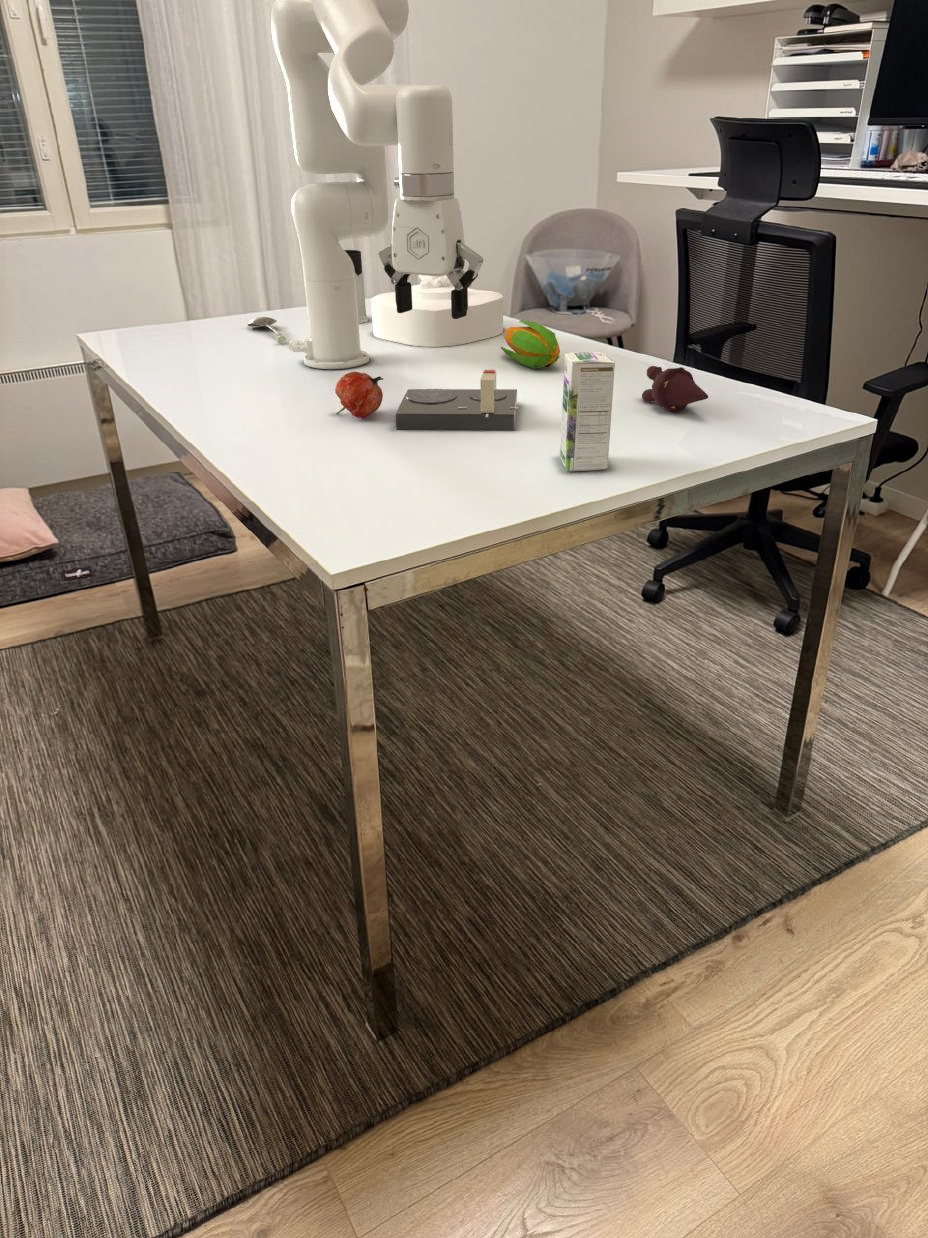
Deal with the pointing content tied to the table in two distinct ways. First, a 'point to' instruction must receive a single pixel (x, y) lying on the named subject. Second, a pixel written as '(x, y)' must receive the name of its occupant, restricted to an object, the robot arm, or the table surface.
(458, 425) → the hob
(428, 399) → the hotplates
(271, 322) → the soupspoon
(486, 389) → the hob knob
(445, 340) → the white cake
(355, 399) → the pomegranate
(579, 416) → the syrup box
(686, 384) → the icecream
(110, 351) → the table surface
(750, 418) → the table surface
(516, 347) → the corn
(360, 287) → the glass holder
